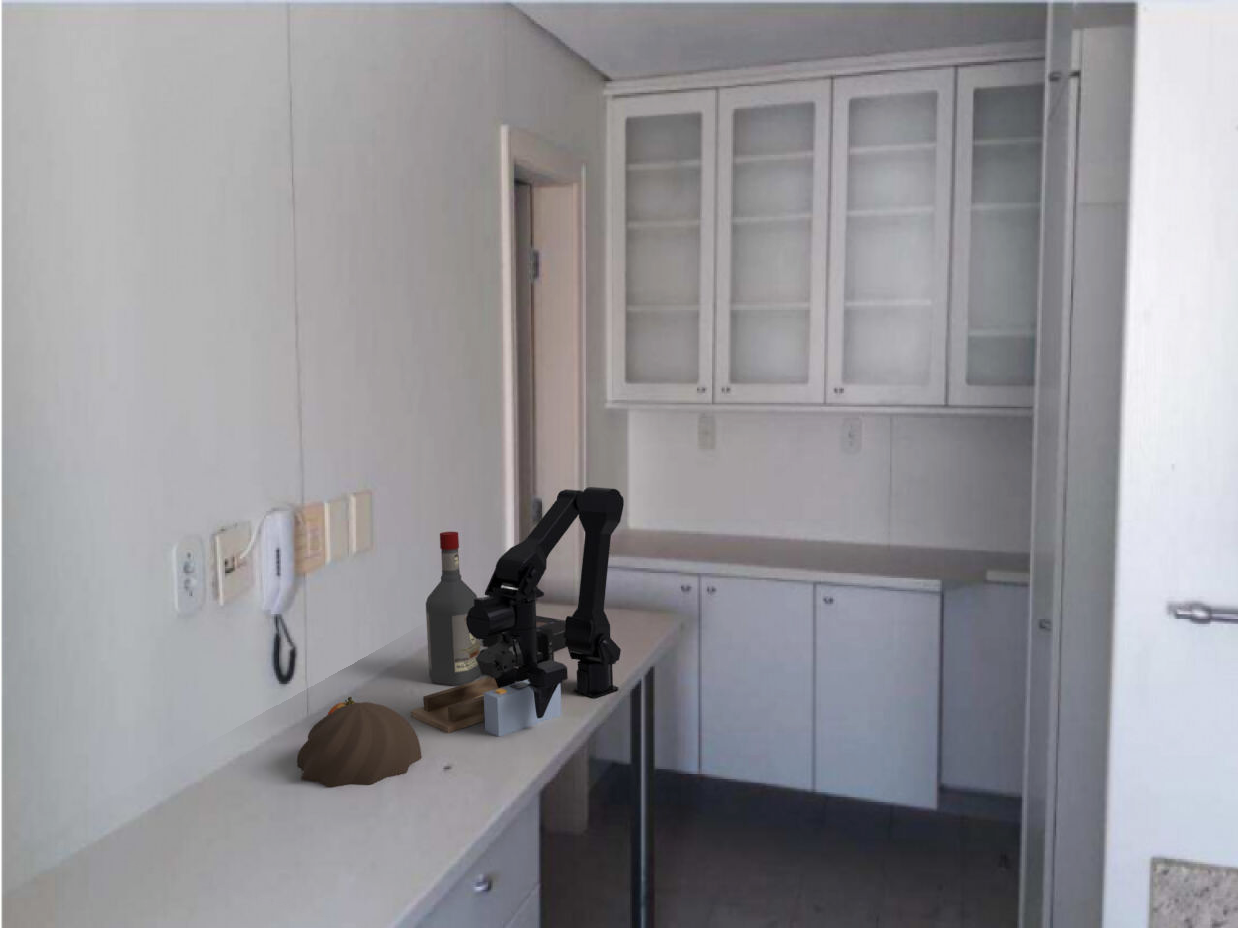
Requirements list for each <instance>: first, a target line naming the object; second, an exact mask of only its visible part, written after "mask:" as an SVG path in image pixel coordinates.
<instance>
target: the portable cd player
mask: <svg viewBox="0 0 1238 928" xmlns="http://www.w3.org/2000/svg"><path fill="white" fill-rule="evenodd" d="M565 620H566V619H565ZM565 620H564V619H558V618H553V617H547V616H541V615H536V625H537V628H550V629H551V630H552V631H553V645H554V653H555V652H558V651H560V650H563V649H566V648H567V647H566V645H565V637H563V635H564V632H565ZM498 635H499V634H497V635H494V636H491V637H488V638H485V639H481V640H482V641H481V642H482V643H481V644H482V646H483V647H485V648H489V647H490V646H492V645H495V644H496V643H498Z"/></svg>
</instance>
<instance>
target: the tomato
mask: <svg viewBox="0 0 1238 928" xmlns="http://www.w3.org/2000/svg"><path fill="white" fill-rule="evenodd" d="M352 697H353V696H348V697H347V699H345V701H344V702H338V703H337V704H335V705H333V706H332V707H331V708H330V709H329V710H328V712H327V715H329V714H331V713H333V712H334V711H335V710H336V709H338V708H340V707H342V706H346V705H350V704H354V703H356V702H355V701H354V700H352V699H353V698H352Z"/></svg>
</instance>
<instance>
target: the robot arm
mask: <svg viewBox="0 0 1238 928" xmlns="http://www.w3.org/2000/svg"><path fill="white" fill-rule="evenodd" d="M624 504H625V503H624V496H622V494H621V492H620V491H619V490H618V489H616V488H611V487H610V488H609V487H597V486H589V487H586V488H585V489H584V490H581V489H579V490H578V489H567V488H566V489H563V490H560V491H559V493H558V494H557V496H556V500H555V501H554V502H553V504H552V505H551V506H550V508H549V509H548V510H547V511H546V512H545V514H544V515H543V516H542V518H541V519H540V520H539V522H538V523H537V524H536V525H535V526H534V528H533V529H532V531H531V532H529V534H528V535H527V537H526V538H525V539H524V540H523V541H521V542H519V543H517V544H516V545H514V546H511V547H510V548H509V549H508V550H507V551H506V552H504V554H503V555H501V556H500V557H499V559H498V560H497V562H496V564H495V568H494V570H493V573H492V575H491V578H490V579H489V582H488V583H487V586H486V589H485V591H484V595H485V597H477V598H476V599H474V606H473V607H472V608H470V610H469V611H468V614H467V617H466V624H467V628H468V630H469V632H470V633H471V635H472V636H473V637H474V638H476V639H479V640H480V641H481V640H483V639H485V638H488V637H491V636H494V635H497V634H499V635H498V643H496V644H495V645H492V646H490V647H485V648H481V652H480V653H479V655H478V656H477V657H476V661H477V663H478V666H479V668H480V671H481V675H482V676H488V677H491V678H494V679H495V681H496V683H497V686H498V688H501V687H505V686H508V685H511V684H514V683H516V681H515V678H516V672H517V669H520V670H523V671H526V672H527V678H528V680H529V682H530V683H529V684H527V685H528V686H529V687H530V688H531V689H532V690H533V692H534V700H535V710H536V715H537V718H538V719H539V718H542V717H543V716H544V714H545V711H546V709H547V707H548V704H549V702H550V700H551V698H552V695H553V694H554V692H555V690H556V688H557V686H558V684H560V685H561V684H562V683H563V682H565V681H567V680H568V679H569V678H568V677H569V675H568V673H569V671H568V666H566V665H565V664H564V663H563V662H559V661H556V660H554V661H553V660H548V661H545V662H542V663H536V662H537V660H540V659H543V653H541V652H538V651H537V637H540V636H542V630H538V629H537V625H536V616H537V600H536V599H538V598H541V597H544V595H545V592H543V591H542V590H541V589H539V587H537V586H538V584H539V583H540V581H541V579H542V577H543V575H544V574H545V572H546V570H547V562H548V561H547V560H548V557H549V555H550V554H551V553H552V551H553V550H554V548H555V547H556V545H557V544H558V543H559V541H561V539H562V538H563V536H564V535H565V534H566V532H567V531H568V529H569V528H570V527H571V525H572V524H573V523H574V521H575V520H576V519H577V518H578V519H579V522H580V524H581V526H582V528H583V531H584V542H583V543H584V544H583V552H582V561H581V573H580V583H579V593H578V602H577V608H576V609H575V611H574V613H572V615H571V616H570V615H567V616H566V618H565V632H564V635H563V637H565V645H566V648H567V650H568V654H569V657H570V659H571V660H577V670H576V686H575V687H573V689H572V691H573V692H576V693H579V694H582V695H584V696H588V697H591V698H593V699H595V698H598V697H602V696H604V695H608V694H610V693H614V692H617V691H619V690H620V689H619V686H616V685H614V684H613V683H614V682H613V680H614V676H613V673H614V672H613V671H614V670H613V665H615V664H616V662H618V661H619V660H620V657H621V651H622V649H621V648H620V647H619V646H618V645H617V643H616V642H615V641H614V640H613V639H612V638H611V624H610V621H609V619H608V617H607V614H606V613H605V612H606V611H605V599H606V590H607V579H608V571H609V570H608V568H609V560H610V559H609V558H610V548H611V539H612V535H613V534H614V531H615V530H616V529H617V527H618V526H619V524H620V522H621V521H622V520H621V519H622V516H623V510H624V506H625V505H624ZM502 586H503V587H502ZM512 588H513V589H512Z"/></svg>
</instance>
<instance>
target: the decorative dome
mask: <svg viewBox="0 0 1238 928" xmlns="http://www.w3.org/2000/svg"><path fill="white" fill-rule="evenodd" d="M421 748H422V747H421V743H420V740H419V737H418V735H417V733H416V730H415V729H414V727H413V726H412V725H411V724H410V722H409V721H407V720H406V719H405V718H404V716H402V715H401V714H400V713H398V712H396V710H393V709H392V708H390V707H388V706H385V705H382V704H379V703H372V702H369V701H364V702H362V701H361V702H355V703H354V704H350V705H346V706H342V707H340V708H338V709H336V710H335V711H334V712H333V713H331V714H329V715H328V714H326V716H324V717H322V719H320V720H319V721H318V722H317V723H315V724H314V726H312V728H311V729H310V730H309V732H308V735H307V740H306V742H304V744H303V745H302V747H301V748H300V749H299V751H298V753H297V756H296V765H297V767H298V769H300V770H301V771H302V775H301V776H300V777H301V778H300V780H301V781H306V782H314V783H320V784H321V785H323V786H324V787H326V788H327V789H328V788H329V789H331V788H332V789H333V788H337V787H344V786H348V785H354V786H372V785H374V784H376V783H378V782H380V781H383V780H384V779H387V777H388V778H391V777H397V776H400V775H401V774H402V775H406V774H407V773H408V771H409V768H410V767H411V766H412V765H414V764H415V763H416V762H418V761H420V760H421V759H422V749H421ZM396 775H397V776H396Z"/></svg>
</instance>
